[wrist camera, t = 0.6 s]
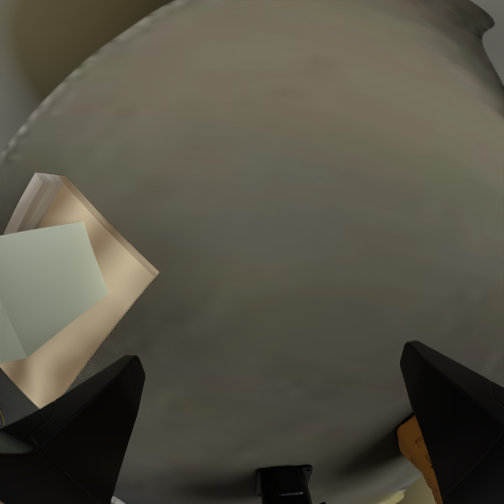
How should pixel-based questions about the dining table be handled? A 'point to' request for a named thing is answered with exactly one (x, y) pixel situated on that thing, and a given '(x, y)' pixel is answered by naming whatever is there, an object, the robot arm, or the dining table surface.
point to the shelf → (95, 318)
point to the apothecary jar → (1, 419)
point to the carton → (44, 285)
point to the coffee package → (418, 453)
